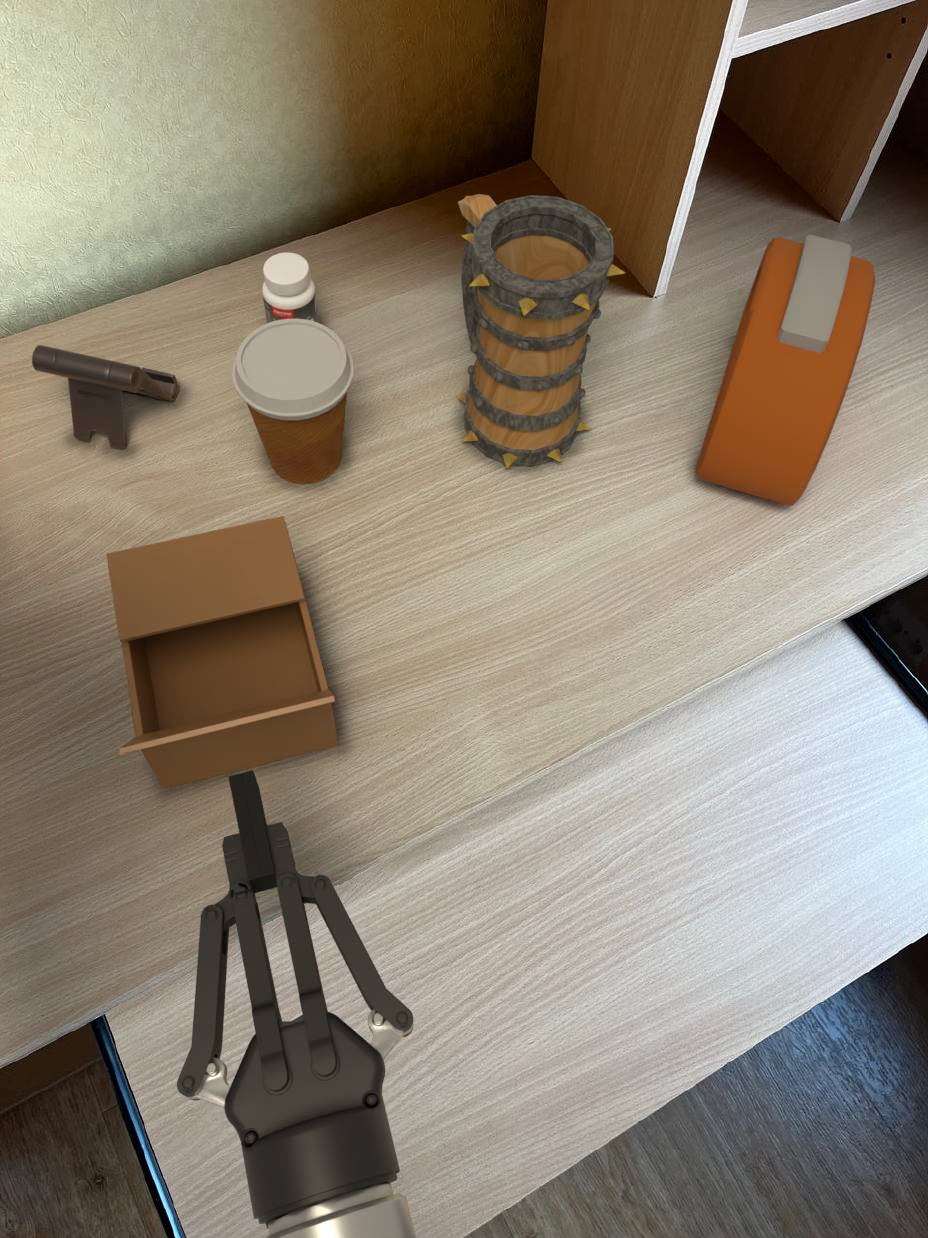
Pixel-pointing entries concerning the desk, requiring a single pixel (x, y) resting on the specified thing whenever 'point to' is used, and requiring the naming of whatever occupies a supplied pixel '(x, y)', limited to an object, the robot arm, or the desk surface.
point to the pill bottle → (288, 288)
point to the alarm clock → (788, 368)
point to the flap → (227, 721)
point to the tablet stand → (101, 389)
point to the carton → (219, 648)
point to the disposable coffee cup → (296, 395)
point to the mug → (529, 321)
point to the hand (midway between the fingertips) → (243, 782)
